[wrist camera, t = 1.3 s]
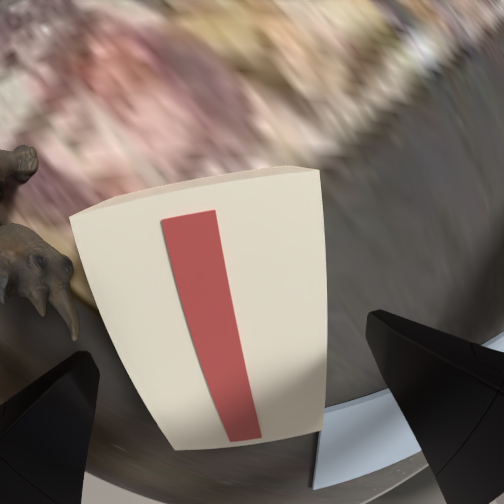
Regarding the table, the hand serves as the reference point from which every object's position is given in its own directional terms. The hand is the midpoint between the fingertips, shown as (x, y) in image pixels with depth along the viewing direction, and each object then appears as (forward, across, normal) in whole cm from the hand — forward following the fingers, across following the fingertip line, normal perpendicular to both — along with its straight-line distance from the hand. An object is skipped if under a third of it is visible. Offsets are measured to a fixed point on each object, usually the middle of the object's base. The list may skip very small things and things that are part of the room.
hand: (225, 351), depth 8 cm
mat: (+3, -13, +14) cm, 19 cm away
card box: (+3, 0, 0) cm, 3 cm away
